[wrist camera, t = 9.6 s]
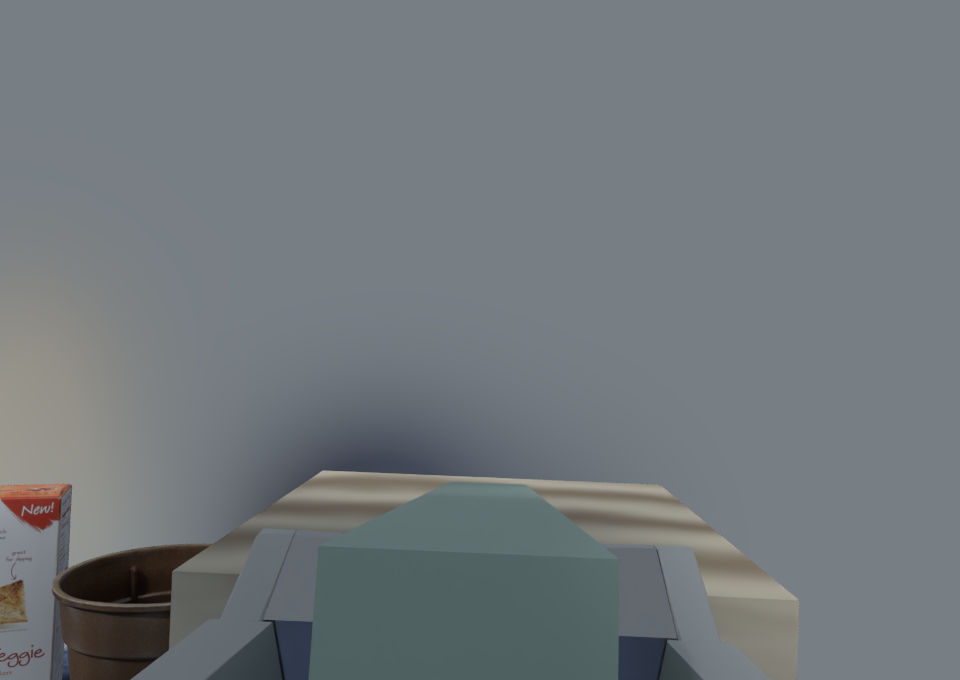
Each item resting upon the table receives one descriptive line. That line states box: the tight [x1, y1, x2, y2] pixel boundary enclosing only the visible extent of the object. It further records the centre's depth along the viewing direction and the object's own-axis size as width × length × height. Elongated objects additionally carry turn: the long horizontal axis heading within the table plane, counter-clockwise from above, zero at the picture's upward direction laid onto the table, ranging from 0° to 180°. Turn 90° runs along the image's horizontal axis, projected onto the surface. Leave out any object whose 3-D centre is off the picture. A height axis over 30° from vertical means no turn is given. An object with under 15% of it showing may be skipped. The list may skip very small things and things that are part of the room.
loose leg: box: [309, 481, 619, 680], centre depth 18 cm, size 22×3×3 cm, turn 179°
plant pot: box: [52, 544, 212, 680], centre depth 58 cm, size 16×16×16 cm
